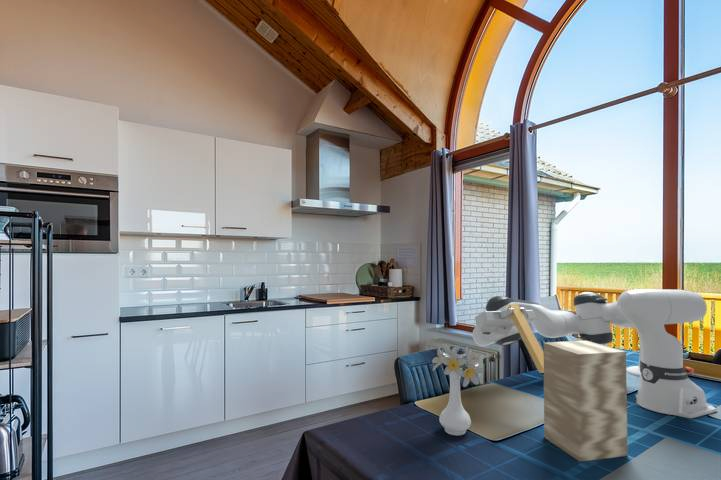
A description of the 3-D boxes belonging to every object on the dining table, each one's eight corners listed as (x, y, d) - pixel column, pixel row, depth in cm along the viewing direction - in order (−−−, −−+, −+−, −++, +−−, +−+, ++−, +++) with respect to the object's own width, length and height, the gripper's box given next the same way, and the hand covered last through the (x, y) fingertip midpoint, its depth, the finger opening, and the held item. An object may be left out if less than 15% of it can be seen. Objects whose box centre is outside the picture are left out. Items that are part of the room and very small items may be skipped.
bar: (514, 308, 138) (517, 303, 136) (548, 372, 121) (551, 368, 119) (506, 308, 137) (509, 304, 136) (539, 372, 120) (543, 368, 119)
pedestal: (587, 432, 113) (586, 340, 113) (627, 455, 100) (625, 351, 101) (544, 437, 110) (543, 342, 110) (579, 461, 97) (578, 354, 98)
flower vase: (462, 450, 102) (461, 357, 103) (421, 424, 118) (421, 343, 118) (497, 440, 108) (496, 352, 109) (453, 416, 123) (453, 339, 124)
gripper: (526, 331, 146) (547, 318, 134) (475, 333, 142) (493, 319, 130) (520, 315, 149) (541, 300, 138) (470, 316, 145) (488, 301, 133)
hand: (517, 310), depth 134 cm, fingers closed on bar, 3 cm apart
